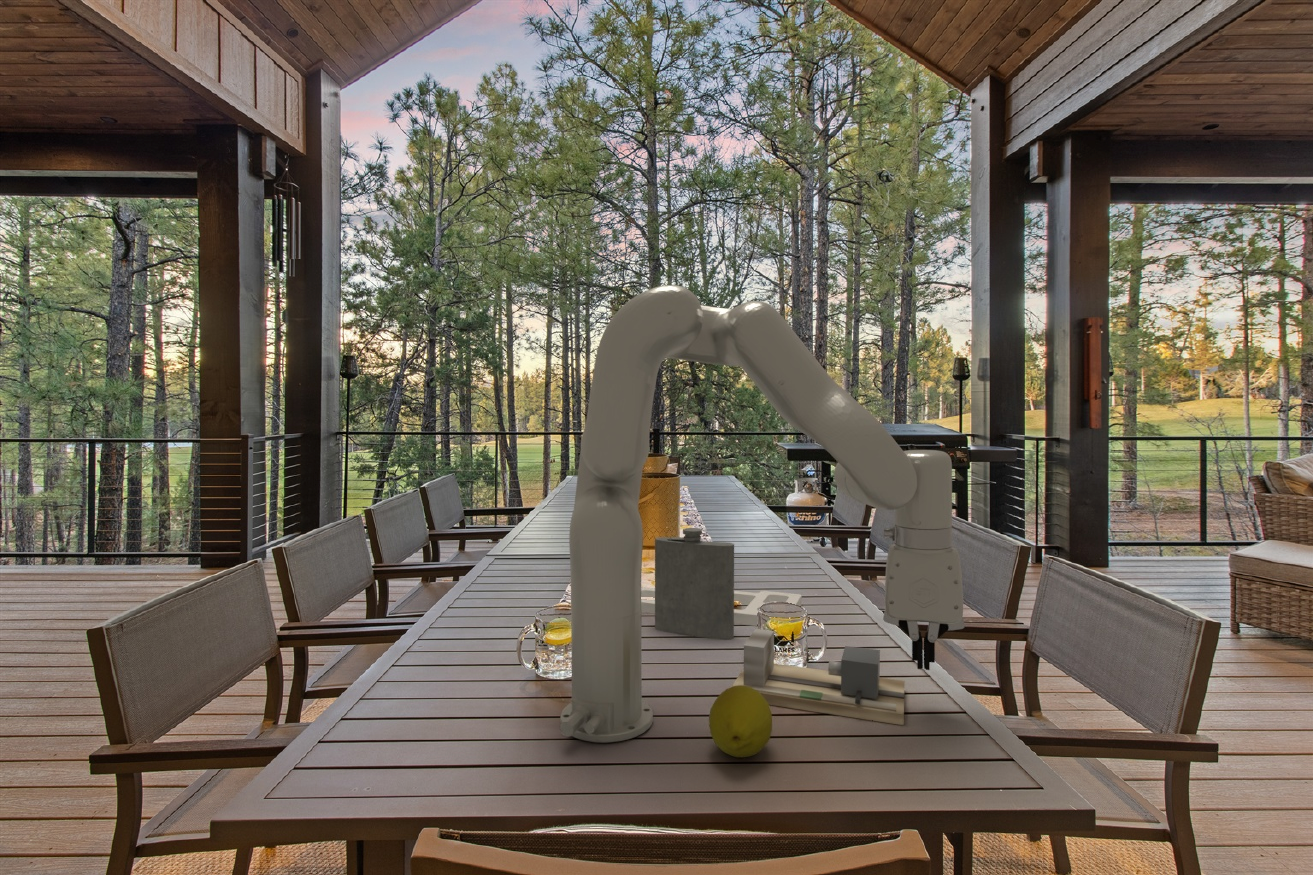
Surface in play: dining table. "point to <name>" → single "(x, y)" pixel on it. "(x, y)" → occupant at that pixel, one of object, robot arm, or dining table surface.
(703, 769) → the dining table surface
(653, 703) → the dining table surface
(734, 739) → the lemon
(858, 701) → the block
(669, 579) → the hip flask
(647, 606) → the holder
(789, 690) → the track board
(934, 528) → the robot arm
